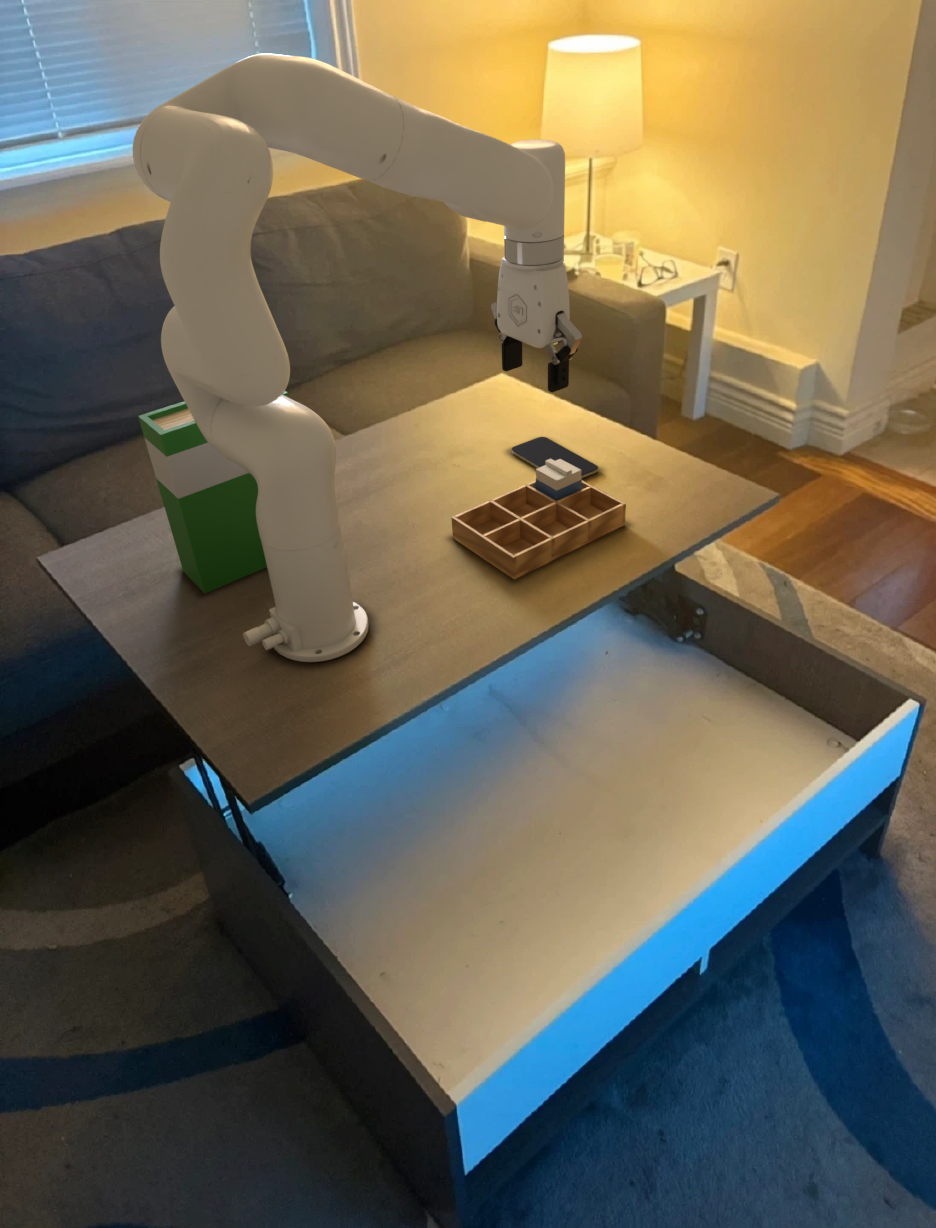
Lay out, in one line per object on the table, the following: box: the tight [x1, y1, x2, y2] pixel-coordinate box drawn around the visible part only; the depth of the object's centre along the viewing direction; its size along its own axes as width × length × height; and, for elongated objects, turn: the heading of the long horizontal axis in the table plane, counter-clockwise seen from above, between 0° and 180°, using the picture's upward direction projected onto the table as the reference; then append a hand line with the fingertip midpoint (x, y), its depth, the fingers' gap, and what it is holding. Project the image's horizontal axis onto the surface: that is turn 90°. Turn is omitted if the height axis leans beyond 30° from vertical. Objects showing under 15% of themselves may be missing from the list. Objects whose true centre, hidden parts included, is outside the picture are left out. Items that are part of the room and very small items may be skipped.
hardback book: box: [137, 390, 290, 594], centre depth 130 cm, size 18×7×24 cm, turn 127°
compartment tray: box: [450, 479, 627, 581], centre depth 137 cm, size 21×14×4 cm
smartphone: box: [511, 436, 599, 480], centre depth 155 cm, size 7×1×15 cm
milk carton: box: [535, 459, 583, 501], centre depth 142 cm, size 5×5×6 cm
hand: (534, 378), depth 130 cm, fingers open, 9 cm apart
